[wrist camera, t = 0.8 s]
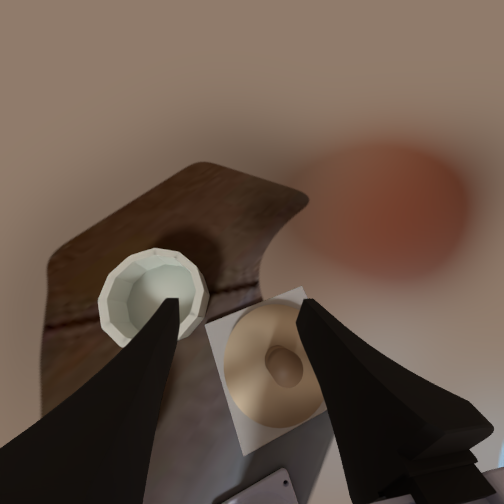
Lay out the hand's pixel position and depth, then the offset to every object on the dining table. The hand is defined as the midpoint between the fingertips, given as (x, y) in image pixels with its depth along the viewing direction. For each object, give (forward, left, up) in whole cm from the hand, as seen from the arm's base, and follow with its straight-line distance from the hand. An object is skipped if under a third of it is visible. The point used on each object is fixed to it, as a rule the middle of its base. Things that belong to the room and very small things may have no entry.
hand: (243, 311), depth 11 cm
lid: (-6, -2, -13) cm, 14 cm away
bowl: (+5, +8, -13) cm, 16 cm away
